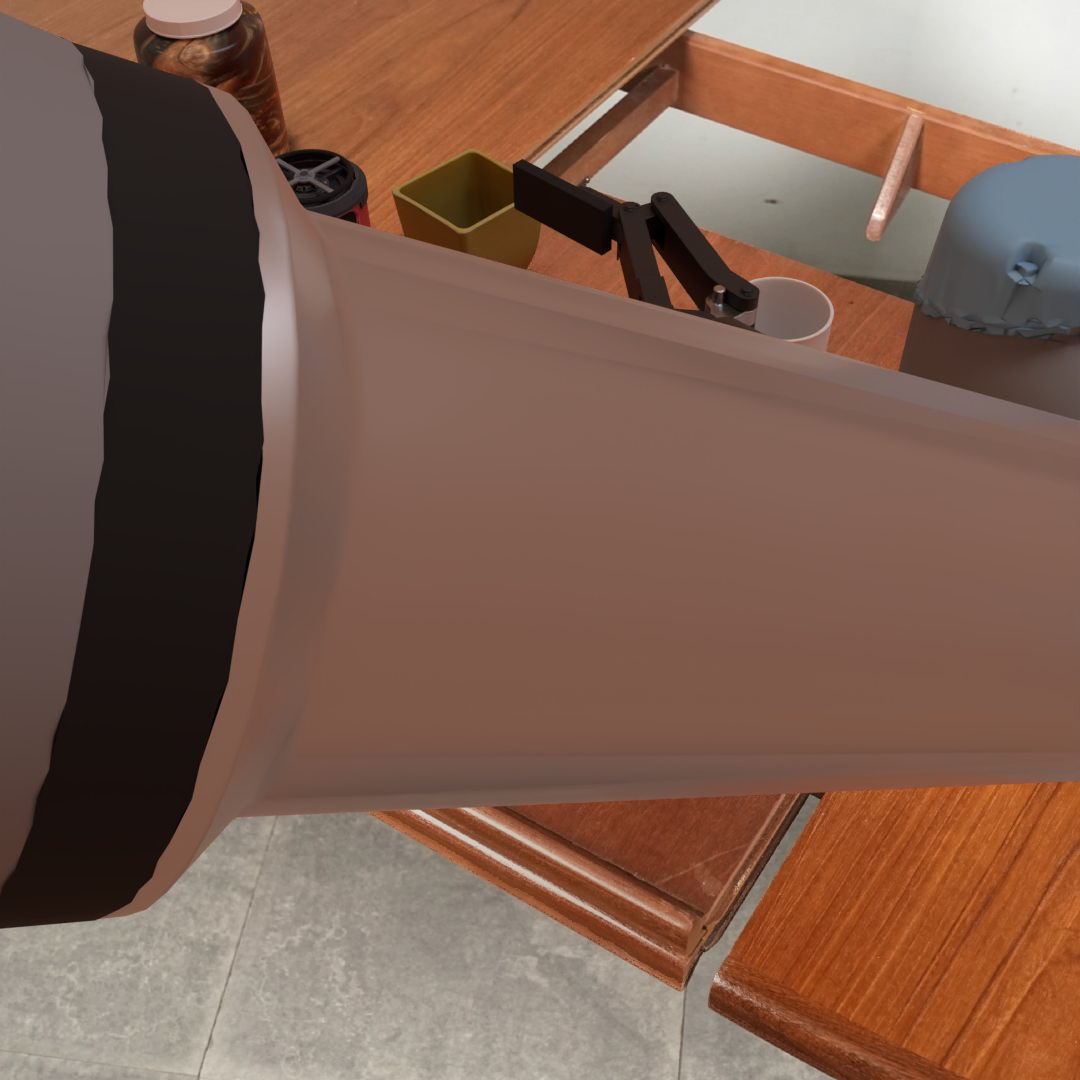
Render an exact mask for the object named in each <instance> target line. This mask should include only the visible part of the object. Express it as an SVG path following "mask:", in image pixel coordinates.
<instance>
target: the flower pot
mask: <svg viewBox="0 0 1080 1080" xmlns="http://www.w3.org/2000/svg"><path fill="white" fill-rule="evenodd" d="M391 194H392V198H393V201H394V205H395V208H396V212H397V215H398V219H399V223H400V225H401V229H402V232H403V236H404V237H408V238H411V239H415V240H419V241H422V242H426V243H430V244H433V245H437V246H441V247H444V248H448V249H452V250H455V251H459V252H463V253H466V254H470V255H474V256H477V257H481V258H485V259H488V260H492V261H496V262H499V263H503V264H507V265H510V266H514V267H518V268H521V269H525V270H528V268H529V266H530V264H531V262H532V261H533V259H534V257H535V254H536V252H537V248H538V245H539V241H540V236H541V229H542V223H540V222H538V221H537V220H535V219H533V218H531V217H529V216H527V215H525V214H524V213H522V212H520V211H518V210H516V209H514V189H513V168H510V167H508V166H507V165H505V164H503V163H501V162H500V161H498V160H496V159H495V158H493V157H492V156H489V155H488V154H486V153H484V152H483V151H481V150H479V149H476V148H473V147H471V148H468V149H465V150H463V151H461V152H459V153H458V154H456V155H454V156H452V157H450V158H448V159H447V160H445V161H442V162H441V163H438V164H437V165H434V166H433V167H431V168H429V169H427V170H426V171H423V172H421V173H419V174H418V175H416V176H414V177H412V178H410V179H408V180H406V181H404V182H402V183H400V184H398V185H396V186H395V187H393V188H392V189H391Z"/></svg>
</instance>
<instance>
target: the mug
mask: <svg viewBox="0 0 1080 1080" xmlns="http://www.w3.org/2000/svg"><path fill="white" fill-rule="evenodd" d="M749 282H750V283H752V284H753V285H755V286H756V287H757V288H758V289H759V291H760V294H759V300H758V308H757V315H756V321H755V328H754V329H756V330H757V331H759V332H761V333H763V334H765V335H767V336H771V337H774V338H778V339H782V340H785V341H789V342H793V343H796V344H800V345H804V346H807V347H811V348H815V349H818V350H822V351H826V352H827V349H828V345H829V340H830V334H831V329H832V323H833V321H834V317H835V309H834V306H833V303H832V301H831V299H830V298H829V297H828V295H826V294H825V292H823V291H822V290H821V289H819V288H818V287H817V286H814V285H813V284H811V283H808V282H806V281H803V280H800V279H798V278H797V279H796V278H792V277H786V276H765V277H758V278H755V279H751V280H749ZM694 310H699V309H698V307H697V306H696V307H695V308H694Z"/></svg>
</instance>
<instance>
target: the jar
mask: <svg viewBox="0 0 1080 1080" xmlns="http://www.w3.org/2000/svg"><path fill="white" fill-rule="evenodd" d="M142 10H143V13H144V14H143V15H144V16H142V17H141V18H140V20H139V21H138V22H137V23H136V25H135V27H134V29H133V35H132V40H133V47H134V51H135V52H134V53H135V56H136V62H137V63H140V64H143V65H146V66H149V67H153V68H156V69H159V70H162V71H165V72H168V73H172V74H175V75H178V76H181V77H185V78H192V79H193V80H195V81H197V82H199V83H202V84H205V85H208V86H211V87H214V88H217V89H219V90H222V91H224V92H227V93H229V94H231V95H232V96H233V97H234V98H235V99H236V100H237V101H238V102H239V103H240V104H241V105H242V106H243V107H244V108H245V109H246V110H247V111H248V112H249V114H250V116H251V118H252V119H253V121H254V123H255V125H256V126H257V128H258V130H259V132H260V133H261V135H262V137H263V139H264V140H265V142H266V144H267V146H268V147H269V149H270V151H271V153H272V155H273V156H274V158H275V157H277V156H279V155H281V154H284V153H287V152H290V143H289V137H288V131H287V126H286V121H285V116H284V110H283V107H282V100H281V95H280V91H279V86H278V81H277V75H276V72H275V67H274V62H273V57H272V53H271V49H270V44H269V40H268V36H267V32H266V28H265V24H264V21H263V18H262V16H261V14H260V12H259V11H258V10H257V8H256V7H255V6H253V5H252V4H251V3H249V2H247V1H245V0H143V3H142Z"/></svg>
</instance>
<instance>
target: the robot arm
mask: <svg viewBox="0 0 1080 1080" xmlns="http://www.w3.org/2000/svg"><path fill="white" fill-rule="evenodd" d="M512 170H513V189H514V209H516V210H518V211H520V212H522V213H524V214H525V215H527V216H529V217H531V218H533V219H535V220H537V221H538V222H540V223H541V225H544V226H546V227H548V228H550V229H551V230H553V231H555V232H557V233H559V234H560V235H563V236H564V237H566V238H568V239H570V240H572V241H574V242H575V243H577V244H579V245H581V246H583V247H585V248H587V249H589V250H590V251H592V252H593V253H595V254H598V255H600V256H604V255H606V254H607V253H608V252H610V251H612V250H613V248H612V247H613V241H614V242H616V261H619V263H620V266H621V271H622V277H623V279H624V283H625V288H626V293H627V296H628V297H627V296H623V295H620V294H617V293H612V292H608V291H605V290H602V289H597V288H594V287H591V286H587V285H584V284H579V283H576V282H572V281H569V280H565V279H561V278H558V277H553V276H552V275H551V276H550V275H546V274H543V273H540V272H537V271H533V270H528V269H526V270H525V269H521V268H518V267H514V266H510V265H507V264H503V263H499V262H496V261H492V260H488V259H485V258H481V257H477V256H474V255H470V254H466V253H463V252H459V251H455V250H452V249H448V248H444V247H441V246H437V245H433V244H430V243H426V242H422V241H419V240H415V239H411V238H408V237H405V236H404V235H400V234H396V233H392V232H389V231H385V230H382V229H378V228H374V227H372V226H371V227H367V226H364V225H360V224H356V223H353V222H349V221H345V220H342V219H338V218H334V217H331V216H327V215H323V214H319V213H316V212H312V211H308V210H306V209H305V208H304V207H303V206H302V205H301V204H300V202H299V200H298V198H297V197H296V195H295V193H294V191H293V190H292V188H291V186H290V184H289V183H288V181H287V179H286V177H285V176H284V174H283V172H282V170H281V169H280V167H279V165H278V163H277V162H276V160H275V158H274V156H273V155H272V153H271V151H270V149H269V147H268V146H267V144H266V142H265V140H264V139H263V137H262V135H261V133H260V132H259V130H258V128H257V126H256V125H255V123H254V121H253V119H252V118H251V116H250V114H249V112H248V111H247V110H246V109H245V108H244V107H243V106H242V105H241V104H240V103H239V102H238V101H237V100H236V99H235V98H234V97H233V96H232V95H231V94H229V93H227V92H224V91H222V90H219V89H217V88H214V87H211V86H208V85H205V84H202V83H199V82H197V81H195V80H193V79H192V78H185V77H181V76H178V75H175V74H172V73H168V72H165V71H162V70H159V69H156V68H153V67H149V66H146V65H143V64H140V63H138V61H133V60H130V59H127V58H123V57H121V56H118V55H115V54H111V53H108V52H104V51H101V50H99V49H95V48H92V47H89V46H86V45H83V44H80V43H76V42H73V41H71V40H68V39H67V38H65V37H62V36H58V35H55V34H54V33H52V32H50V31H46V30H44V29H43V28H40V27H37V26H36V25H35V26H34V25H33V24H31V23H29V22H26V21H23V20H21V19H18V18H16V17H14V16H12V15H9V14H7V13H4V12H2V11H0V930H2V929H3V930H4V929H16V928H27V927H28V928H29V927H37V926H50V925H60V924H72V923H73V924H74V923H84V922H95V921H97V920H103V919H113V918H122V917H128V916H130V915H133V914H136V913H140V912H143V911H146V910H148V909H149V908H151V906H153V905H154V904H155V903H156V902H157V901H159V900H160V899H162V897H164V896H165V895H166V894H167V893H168V892H169V891H170V890H171V889H172V888H173V886H174V885H175V884H176V883H177V882H178V881H179V880H180V879H181V877H183V875H184V874H185V873H186V872H187V871H188V870H189V869H190V868H191V867H192V866H193V864H194V863H195V862H196V861H197V860H198V859H199V858H200V857H201V856H202V854H203V853H204V852H205V851H206V850H207V849H208V848H209V847H210V846H211V844H212V843H213V842H215V840H216V839H217V838H218V837H219V836H220V835H221V833H223V831H224V830H226V828H227V827H228V826H229V825H230V824H231V823H232V821H234V820H236V819H237V818H258V817H281V816H302V815H303V816H305V815H306V816H307V815H326V814H348V813H349V814H351V813H352V814H353V813H372V812H373V813H374V812H398V811H419V810H420V811H421V810H422V811H423V810H443V809H444V810H446V809H465V808H467V809H468V808H469V809H470V808H489V807H490V808H491V807H514V806H515V807H517V806H535V805H557V804H558V805H561V804H583V803H606V802H607V803H609V802H627V801H628V802H630V801H652V800H655V801H656V800H676V799H677V800H678V799H698V798H722V797H723V798H724V797H725V798H726V797H744V796H745V797H747V796H769V795H770V796H771V795H793V794H814V793H815V794H816V793H838V792H839V793H840V792H862V791H883V790H884V791H885V790H911V789H930V788H931V789H933V788H953V787H954V788H956V787H978V786H1000V785H1003V786H1005V785H1025V784H1026V785H1027V784H1049V783H1067V782H1068V783H1071V782H1072V783H1073V782H1080V155H1075V154H1074V155H1073V154H1056V153H1055V154H1054V153H1053V154H1037V155H1036V154H1035V155H1029V156H1027V157H1024V158H1023V159H1021V160H1017V161H1014V162H1010V161H1009V162H1008V161H1007V162H1001V163H998V164H996V165H992V166H989V167H987V168H986V169H984V170H982V171H981V172H978V173H976V174H975V175H974V176H973V177H971V178H970V179H968V180H967V181H966V182H965V183H964V184H963V185H962V186H961V187H960V188H959V189H958V190H957V191H956V193H955V194H954V196H953V197H952V198H951V200H950V201H949V203H948V205H947V208H946V211H945V213H944V216H943V218H942V222H941V225H940V228H939V230H938V233H937V236H936V239H935V242H934V244H933V247H932V250H931V253H930V256H929V259H928V262H927V265H926V267H925V271H924V273H923V274H922V275H921V277H920V279H919V280H918V281H917V282H916V284H915V287H916V288H915V289H914V293H913V295H912V296H913V297H912V298H913V299H914V305H913V310H912V314H911V317H910V321H909V322H910V323H909V325H908V330H907V334H906V338H905V343H904V346H903V350H902V354H901V359H900V363H899V367H898V370H896V369H891V368H887V367H884V366H881V365H877V364H874V363H869V362H866V361H862V360H858V359H856V358H855V359H854V358H851V357H847V356H844V355H840V354H836V353H833V352H829V351H827V350H826V351H822V350H818V349H815V348H811V347H807V346H804V345H800V344H796V343H793V342H789V341H785V340H782V339H778V338H774V337H771V336H767V335H765V334H763V333H761V332H759V331H757V330H756V329H754V328H755V321H756V315H757V308H758V300H759V294H760V291H759V289H758V288H757V287H756V286H755V285H753V284H752V283H750V282H749V281H750V280H749V281H748V280H747V279H746V278H744V277H743V276H741V275H739V274H738V273H736V272H735V271H733V270H731V269H730V268H729V266H728V265H727V263H726V262H725V261H724V260H723V259H722V257H721V255H719V253H718V252H717V250H716V249H715V248H714V246H713V245H712V244H711V243H710V241H709V240H708V239H707V238H706V236H705V234H703V232H702V231H701V230H700V229H699V227H698V226H697V225H696V223H695V222H694V220H692V218H691V217H690V216H689V214H688V213H687V211H686V210H685V209H684V208H683V206H682V205H681V204H680V202H679V201H678V199H676V197H675V196H674V195H673V194H672V193H671V192H667V191H657V192H654V193H653V194H651V195H650V201H649V202H647V203H644V204H640V203H638V202H636V201H623V202H620V201H618V200H616V199H614V198H612V197H611V196H609V195H606V194H604V193H603V192H601V191H600V192H599V191H598V190H596V189H594V188H592V187H590V186H586V185H578V186H577V185H575V184H573V183H571V182H569V181H567V180H565V179H563V178H562V177H559V176H557V175H555V174H553V173H551V172H550V171H547V170H546V169H543V168H541V167H539V166H537V165H536V164H534V163H531V162H529V161H528V160H526V159H524V158H522V159H519V160H518V161H516V162H514V163H513V164H512ZM654 249H655V250H656V251H657V254H659V255H660V258H662V260H663V261H664V263H665V264H666V266H667V267H668V269H669V270H670V271H671V272H672V274H673V275H674V277H675V278H676V279H677V281H678V283H680V286H682V288H683V289H684V291H685V292H686V293H687V295H688V296H689V298H690V299H691V300H692V302H693V303H694V305H695V306H696V307H698V309H699V310H695V309H687V308H686V309H685V308H675V306H674V304H672V301H671V297H670V294H669V291H668V286H667V283H666V279H665V277H664V275H661V273H660V268H659V264H658V261H657V257H656V253H655V250H654Z"/></svg>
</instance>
